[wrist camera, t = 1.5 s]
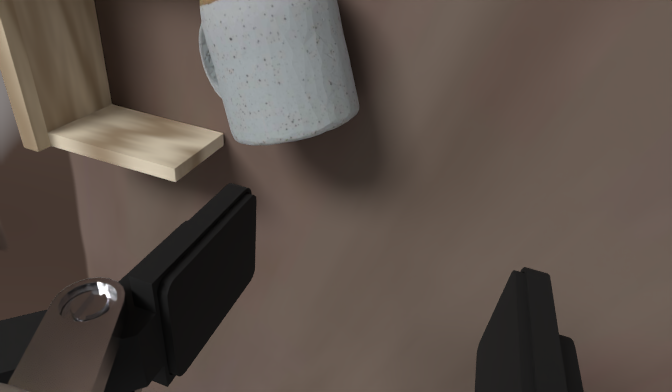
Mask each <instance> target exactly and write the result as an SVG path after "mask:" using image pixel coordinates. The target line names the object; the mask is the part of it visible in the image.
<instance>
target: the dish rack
mask: <svg viewBox="0 0 672 392" xmlns="http://www.w3.org/2000/svg"><path fill="white" fill-rule="evenodd" d="M0 70H1V73H2V76H3V80H4V83H5V86H6V89H7V93H8V96H9V99H10V103H11V106H12V109H13V113H14V115H15V119H16V122H17V125H18V129H19V132H20V136H21V138H22V142H23V145H24V148H27V149H31V150H34V151H38V152H39V151H41V150H43V149H46V148H48V147H50V146H53V147H57V148H60V149H64V150H67V151H70V152H74V153H77V154H81V155H84V156H88V157H91V158H94V159H98V160H101V161H105V162H108V163H112V164H115V165H118V166H122V167H125V168H129V169H132V170H136V171H139V172H142V173H146V174H149V175H153V176H156V177H160V178H163V179H166V180H170V181H173V182H177V181H178V180H179V179H181V178H182V177H183V176H185V175H186V174H187V173H188V172H190V171H191V170H192V169H194V168H195V167H196V166H198V165H199V164H200V163H201V162H203V161H204V160H205V159H207V158H208V157H209V156H211V155H212V154H213V153H214V152H216V151H217V150H218V149H220V148H221V147H222V146H223V145H224V138H223V133H220V132H216V131H212V130H209V129H205V128H201V127H197V126H193V125H189V124H186V123H182V122H178V121H174V120H170V119H166V118H163V117H159V116H155V115H151V114H147V113H143V112H140V111H136V110H132V109H128V108H124V107H120V106H117V105H113V104H112V102H111V96H110V90H109V84H108V78H107V72H106V67H105V61H104V55H103V49H102V43H101V37H100V31H99V26H98V20H97V14H96V8H95V2H94V0H0Z"/></svg>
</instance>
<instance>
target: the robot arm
mask: <svg viewBox="0 0 672 392" xmlns="http://www.w3.org/2000/svg"><path fill="white" fill-rule="evenodd" d="M255 241H256V196H254V195H252V194H251V190H250V189H249V188H246V187H242V186H239V185H235V184H232V183H230V184H228V185H226V186H225V187H224V188H223V189H222V190H221V191H220V192H219V193H218V194H217V195H216V196H215V197H213V198H212V199H211V200H210V201H209V202H208V203H207V204H206V205H205V206H204V207H203V208H202V209H200V210H199V211H198V212H197V213H196V214H195V215H194V216H193V217H192V218H191V219H190V220H188V221H185V222H184V223H182V224H181V225H180V226H179V227H178V228H177V229H176V230H175V231H174V232H172V233H171V234H170V235H169V236H168V237H167V238H166V239H165V240H164V241H163V242H162V243H160V244H159V245H158V246H157V247H156V248H155V249H154V250H153V251H152V252H151V253H150V254H148V255H147V256H146V257H145V258H144V259H143V260H142V261H141V262H140V263H139V264H138V265H136V266H135V267H134V268H133V269H132V270H131V271H130V272H129V273H128V274H127V275H126V276H124V277H123V278H122V279H121V280H120V281H119V282H117V281H115V280H112V279H109V278H101V277H98V278H88V279H85V280H81V281H78V282H75V283H73V284H71V285H70V286H68V287H66V288H65V289H64V290H62V291H61V292H59V293H58V294H57V296H56V297H55V298H54V300H53V301H52V303H51V304H50V306H49V308H48V310H44V311H39V312H35V313H31V314H27V315H22V316H18V317H14V318H10V319H6V320H1V321H0V392H141V391H142V388H144V387H147V386H148V385H149V384H150V382H151V381H154V382H157V383H159V384H162V385H164V386H167V387H168V386H169V384H170V383H171V382H172V380H173V379H174V377H175V376H176V375H177V376H182V375H183V374H184V373H185V372H186V371H187V369H188V368H189V366H190V365H191V364H192V362H193V361H194V359H195V358H196V357H197V355H198V354H199V352H200V351H201V350H202V348H203V347H204V345H205V344H206V343H207V341H208V340H209V338H210V337H211V336H212V334H213V333H214V331H215V330H216V329H217V327H218V326H219V324H220V323H221V322H222V320H223V319H224V317H225V316H226V314H227V313H228V312H229V310H230V309H231V307H232V306H233V305H234V303H235V302H236V300H237V299H238V298H239V296H240V295H241V293H242V292H243V291H244V289H245V288H246V286H247V285H248V284H249V282H250V281H251V279H252V277H253V274H254V271H255ZM475 392H583V386H582V381H581V376H580V370H579V365H578V359H577V354H576V349H575V345H574V342H573V340H572V339H571V338H569V337H566V336H562V335H559V332H558V326H557V319H556V313H555V306H554V299H553V293H552V286H551V280H550V275H549V274H547V273H544V272H540V271H537V270H533V269H530V268H526V267H524V268H523V269H522V270H521V272H518V271H515V270H514V271H513V272H512V273H511V275H510V277H509V279H508V282H507V284H506V286H505V288H504V290H503V293H502V295H501V297H500V299H499V301H498V303H497V306H496V308H495V310H494V312H493V314H492V316H491V319H490V321H489V323H488V325H487V327H486V329H485V332H484V334H483V336H482V338H481V340H480V343H479V346H478V350H477V360H476V379H475Z"/></svg>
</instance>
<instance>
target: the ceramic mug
mask: <svg viewBox="0 0 672 392" xmlns="http://www.w3.org/2000/svg"><path fill="white" fill-rule="evenodd" d="M200 14H201V21H202V23H201V25H200V30H199V49H200V54H201V59H202V63H203V67H204V70H205V72H206V75H207V77H208V79H209V81H210V83H211V85H212V87H213V88H214V90H215V91H216V93H217V94H218V95H219V96H220V97H221V98H222V99H223V103H224V107H225V111H226V114H227V118H228V122H229V125H230V129H231V132H232V135H233V137H234V139H235V140H236V141H237V142H239V143H242V144H247V145H272V144H279V143H285V142H292V141H297V140H302V139H307V138H310V137H314V136H317V135H320V134H322V133H324V132H326V131H329V130H332V129H335V128H337V127H339V126H341V125H343V124H344V123H346V122H348V121H349V120H350V119H352V118H353V117H354V116H355V115H357V113H358V111H359V101H358V96H357V92H356V87H355V83H354V78H353V74H352V69H351V64H350V59H349V55H348V50H347V46H346V42H345V38H344V34H343V29H342V24H341V18H340V13H339V7H338V3H337V0H200Z"/></svg>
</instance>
